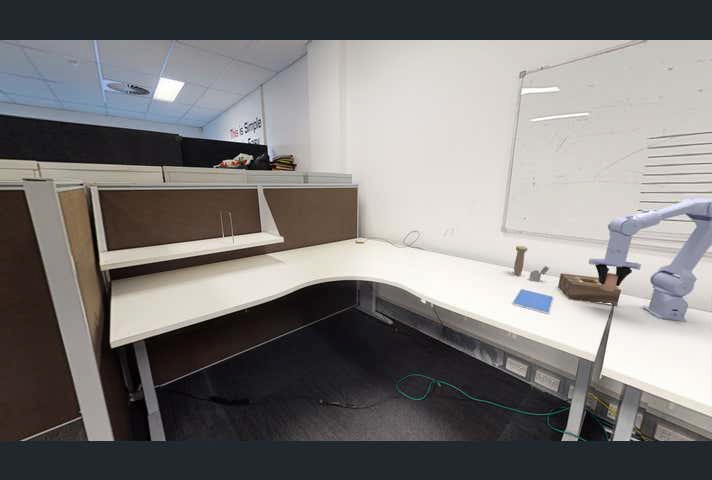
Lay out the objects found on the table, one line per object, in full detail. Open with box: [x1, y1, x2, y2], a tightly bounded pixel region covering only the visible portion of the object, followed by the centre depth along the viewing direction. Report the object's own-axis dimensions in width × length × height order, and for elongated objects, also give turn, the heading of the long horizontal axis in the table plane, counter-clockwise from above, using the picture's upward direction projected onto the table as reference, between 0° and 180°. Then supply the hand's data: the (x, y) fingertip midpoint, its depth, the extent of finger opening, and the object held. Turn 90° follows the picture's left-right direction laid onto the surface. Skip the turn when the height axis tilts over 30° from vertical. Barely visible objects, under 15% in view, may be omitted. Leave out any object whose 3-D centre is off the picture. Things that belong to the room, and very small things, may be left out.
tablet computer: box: [511, 289, 555, 315], centre depth 109 cm, size 19×13×1 cm, turn 139°
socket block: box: [557, 272, 622, 307], centre depth 115 cm, size 14×16×7 cm
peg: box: [601, 272, 618, 291], centre depth 101 cm, size 4×4×6 cm
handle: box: [513, 245, 528, 276], centre depth 138 cm, size 5×6×15 cm
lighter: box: [529, 265, 550, 282], centre depth 131 cm, size 7×2×8 cm, turn 74°
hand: (608, 284), depth 101 cm, fingers closed on peg, 4 cm apart
